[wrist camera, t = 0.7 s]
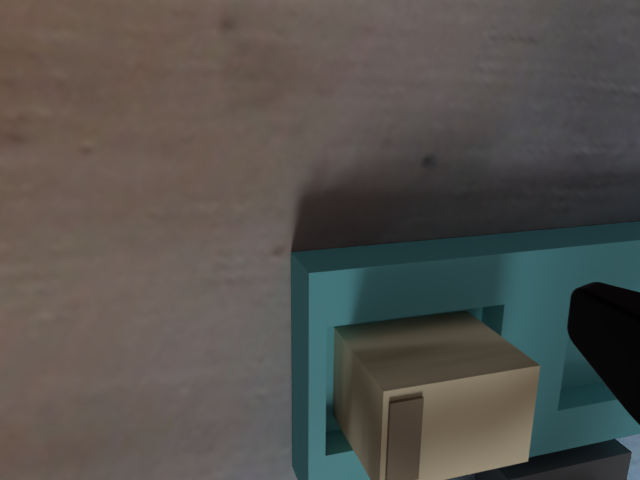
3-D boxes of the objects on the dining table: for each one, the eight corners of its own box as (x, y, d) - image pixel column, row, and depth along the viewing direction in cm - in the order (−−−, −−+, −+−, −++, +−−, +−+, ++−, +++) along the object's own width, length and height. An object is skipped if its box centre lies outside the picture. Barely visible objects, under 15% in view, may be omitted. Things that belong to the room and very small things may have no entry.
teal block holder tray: (650, 396, 32) (690, 422, 30) (292, 466, 26) (308, 505, 24) (685, 217, 29) (732, 230, 27) (291, 252, 23) (309, 273, 21)
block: (459, 392, 27) (530, 463, 22) (332, 414, 25) (380, 497, 20) (466, 310, 26) (543, 367, 21) (334, 327, 24) (385, 393, 19)
